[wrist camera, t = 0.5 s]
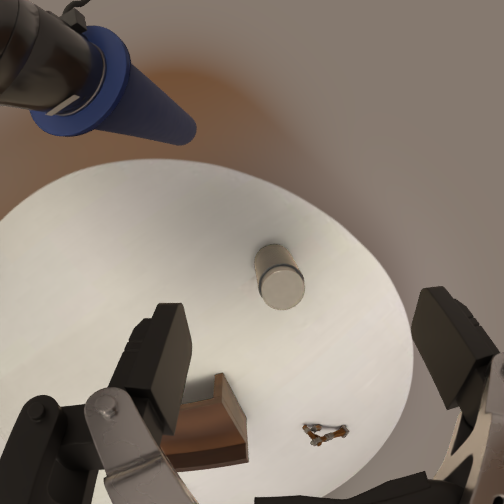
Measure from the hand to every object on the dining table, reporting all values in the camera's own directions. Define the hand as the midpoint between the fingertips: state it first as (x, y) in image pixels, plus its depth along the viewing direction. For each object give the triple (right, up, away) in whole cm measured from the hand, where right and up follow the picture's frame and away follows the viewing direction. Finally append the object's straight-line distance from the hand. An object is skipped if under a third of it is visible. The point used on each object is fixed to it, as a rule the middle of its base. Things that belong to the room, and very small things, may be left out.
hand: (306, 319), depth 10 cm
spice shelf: (-12, -21, +32) cm, 40 cm away
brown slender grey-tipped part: (+10, -27, +35) cm, 46 cm away
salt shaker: (+1, +1, +26) cm, 26 cm away
